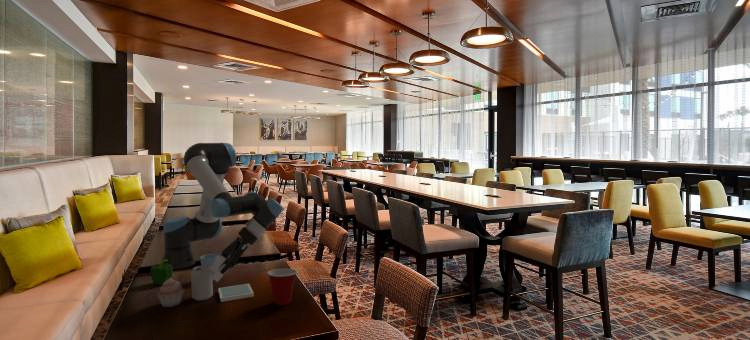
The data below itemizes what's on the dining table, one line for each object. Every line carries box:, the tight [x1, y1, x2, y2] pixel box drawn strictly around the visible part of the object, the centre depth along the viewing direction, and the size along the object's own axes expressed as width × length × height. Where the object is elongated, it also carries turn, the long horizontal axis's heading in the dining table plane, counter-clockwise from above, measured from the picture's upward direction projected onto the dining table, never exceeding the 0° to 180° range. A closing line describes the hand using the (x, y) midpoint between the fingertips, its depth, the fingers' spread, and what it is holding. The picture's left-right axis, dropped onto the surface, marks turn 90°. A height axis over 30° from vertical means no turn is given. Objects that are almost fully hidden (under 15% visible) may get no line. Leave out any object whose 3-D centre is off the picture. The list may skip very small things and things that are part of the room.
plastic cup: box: [267, 268, 298, 306], centre depth 152 cm, size 11×11×12 cm
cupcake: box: [156, 277, 185, 308], centre depth 152 cm, size 9×9×10 cm
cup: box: [199, 253, 220, 282], centre depth 180 cm, size 8×8×10 cm
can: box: [190, 265, 214, 302], centre depth 158 cm, size 8×8×12 cm
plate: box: [217, 283, 255, 303], centre depth 162 cm, size 12×12×2 cm
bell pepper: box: [150, 260, 174, 286], centre depth 176 cm, size 8×8×10 cm
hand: (213, 274), depth 159 cm, fingers open, 13 cm apart
